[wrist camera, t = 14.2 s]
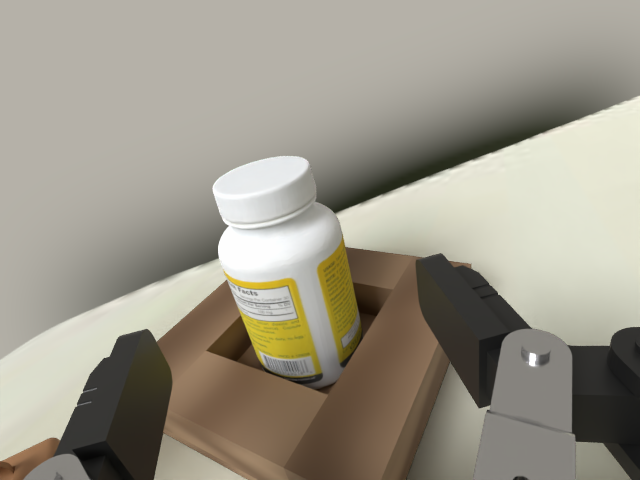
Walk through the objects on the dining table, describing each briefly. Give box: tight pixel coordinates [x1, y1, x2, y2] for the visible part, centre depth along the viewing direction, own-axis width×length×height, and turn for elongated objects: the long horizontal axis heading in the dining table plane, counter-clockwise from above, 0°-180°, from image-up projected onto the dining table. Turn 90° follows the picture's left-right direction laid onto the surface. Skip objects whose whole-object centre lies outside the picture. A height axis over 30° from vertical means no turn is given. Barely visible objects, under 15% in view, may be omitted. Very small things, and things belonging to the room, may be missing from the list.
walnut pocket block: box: [157, 247, 471, 480], centre depth 20 cm, size 13×13×3 cm
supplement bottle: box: [213, 156, 363, 390], centre depth 18 cm, size 5×5×10 cm
